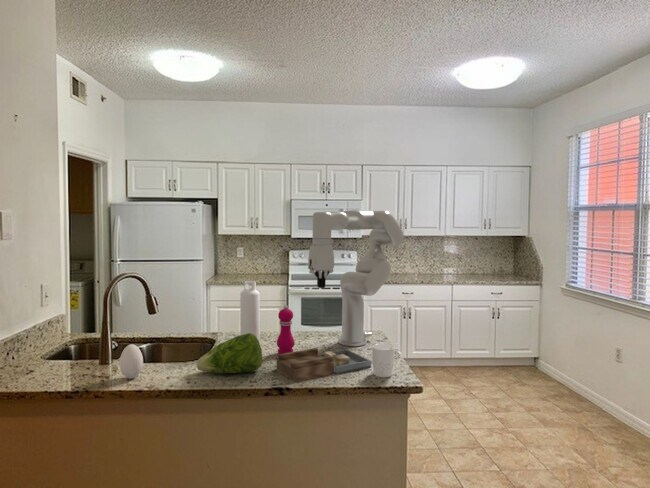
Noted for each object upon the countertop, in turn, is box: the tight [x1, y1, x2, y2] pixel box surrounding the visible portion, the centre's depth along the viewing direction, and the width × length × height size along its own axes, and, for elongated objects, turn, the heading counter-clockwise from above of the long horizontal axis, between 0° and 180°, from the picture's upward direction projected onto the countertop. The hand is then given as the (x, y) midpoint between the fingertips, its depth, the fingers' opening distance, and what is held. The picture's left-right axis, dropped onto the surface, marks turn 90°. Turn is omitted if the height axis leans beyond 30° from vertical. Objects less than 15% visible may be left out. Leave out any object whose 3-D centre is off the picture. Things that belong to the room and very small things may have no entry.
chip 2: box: [336, 354, 349, 366], centre depth 171 cm, size 4×4×2 cm
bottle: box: [239, 280, 261, 342], centre depth 192 cm, size 8×8×28 cm
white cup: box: [371, 343, 396, 378], centre depth 161 cm, size 8×8×10 cm
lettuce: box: [195, 333, 263, 374], centre depth 161 cm, size 14×23×13 cm, turn 97°
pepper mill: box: [276, 305, 295, 355], centre depth 183 cm, size 7×7×20 cm
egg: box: [119, 343, 144, 380], centre depth 154 cm, size 7×7×12 cm
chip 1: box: [323, 350, 336, 367], centre depth 169 cm, size 4×4×2 cm
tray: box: [318, 349, 372, 375], centre depth 172 cm, size 15×16×2 cm
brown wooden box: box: [276, 347, 335, 383], centre depth 163 cm, size 16×14×6 cm
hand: (321, 287), depth 184 cm, fingers closed
